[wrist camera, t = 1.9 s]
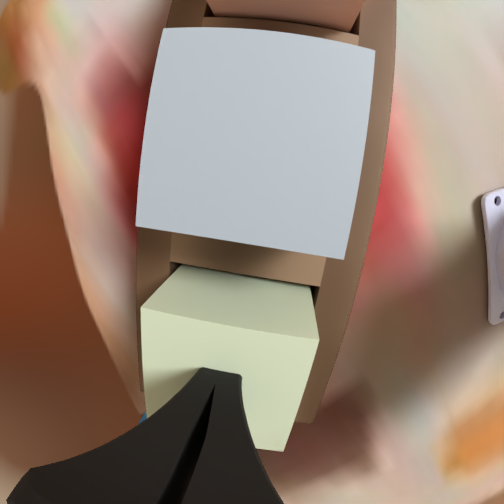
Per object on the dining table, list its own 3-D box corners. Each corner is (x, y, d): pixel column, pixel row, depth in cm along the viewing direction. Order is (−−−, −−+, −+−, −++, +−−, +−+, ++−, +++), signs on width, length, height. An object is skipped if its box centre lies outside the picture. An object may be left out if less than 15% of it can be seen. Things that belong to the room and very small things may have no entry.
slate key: (343, 88, 10) (375, 50, 6) (322, 225, 12) (343, 260, 8) (204, 70, 11) (163, 28, 6) (185, 203, 12) (135, 226, 8)
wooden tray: (378, -42, 10) (392, -70, 7) (309, 387, 17) (312, 423, 14) (215, -61, 10) (203, -91, 8) (159, 360, 18) (140, 391, 15)
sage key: (309, 283, 13) (319, 339, 9) (285, 383, 15) (283, 451, 10) (183, 262, 13) (140, 307, 9) (178, 363, 15) (147, 424, 11)
